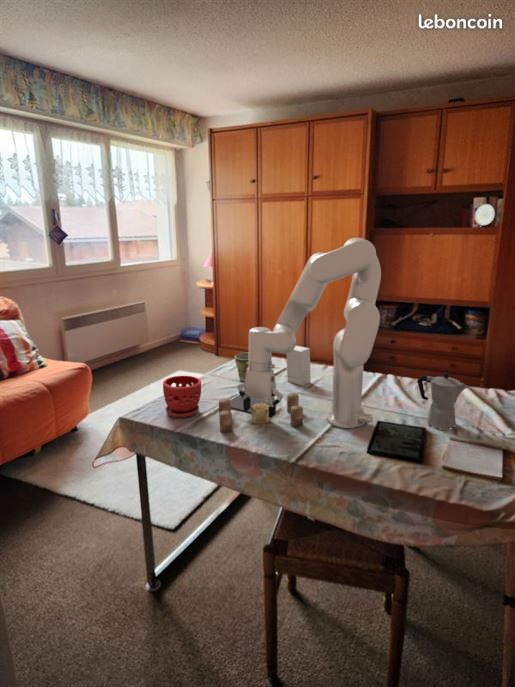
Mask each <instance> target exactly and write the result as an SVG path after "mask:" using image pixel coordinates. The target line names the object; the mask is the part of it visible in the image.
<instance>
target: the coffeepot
mask: <svg viewBox="0 0 515 687" xmlns="http://www.w3.org/2000/svg"><path fill="white" fill-rule="evenodd" d="M449 375H450V372H443V376H435V377H434V376H430V375H421V376H420V377H418V378H417V380H416V382H417V383H416V384H417V386H418V390H419V394H420V397H421V399H422V400H425V401H427V400H429V397H428V396H426V395H425V392H426V391H425V389H424V388H425V387H424V383H423V382H426V383H429V384H430V391H431V392H430V393H431V400H432V402H431V403H430V407H429V411H428V414H427V417H426V423H427V422H428V424H429V425H431V426H433V427H435V428H434V429H436V428H441V429H450V428H452V427H454V426H456V427H457V424H456V423H457V422H456V410H455V404H456V403H457V400H458V397H459V396H460V394H461V393H462V392H463V391H464V390H465V389H468V386H467V384H465V383H462V382H460V380H458V379H456V378H452V377H449ZM428 424H427V425H428ZM429 425H428V426H429ZM431 426H430V427H431ZM433 427H432V428H433Z"/></svg>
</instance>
